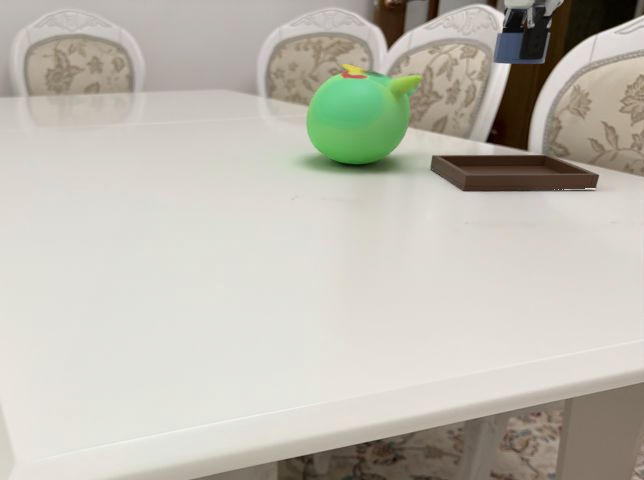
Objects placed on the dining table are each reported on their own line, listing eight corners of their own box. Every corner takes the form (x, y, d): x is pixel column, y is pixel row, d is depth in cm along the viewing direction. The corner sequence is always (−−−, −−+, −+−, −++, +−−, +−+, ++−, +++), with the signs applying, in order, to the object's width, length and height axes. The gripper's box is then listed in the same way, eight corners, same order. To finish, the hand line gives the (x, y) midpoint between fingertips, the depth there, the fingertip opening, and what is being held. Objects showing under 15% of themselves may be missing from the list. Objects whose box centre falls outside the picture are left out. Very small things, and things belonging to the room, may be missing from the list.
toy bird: (308, 151, 120) (315, 60, 113) (408, 154, 116) (421, 61, 109) (298, 171, 104) (305, 67, 97) (413, 176, 100) (429, 69, 94)
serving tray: (545, 168, 104) (548, 154, 104) (595, 190, 91) (599, 174, 90) (430, 169, 105) (432, 155, 104) (463, 191, 92) (466, 175, 91)
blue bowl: (532, 60, 104) (537, 32, 103) (552, 63, 98) (559, 33, 96) (485, 61, 105) (490, 32, 103) (503, 64, 98) (508, 33, 97)
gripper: (607, -93, 85) (573, 60, 93) (546, -76, 101) (520, 54, 109) (546, -92, 86) (517, 61, 93) (494, -76, 101) (473, 54, 109)
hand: (519, 56), depth 101 cm, fingers closed on blue bowl, 7 cm apart
